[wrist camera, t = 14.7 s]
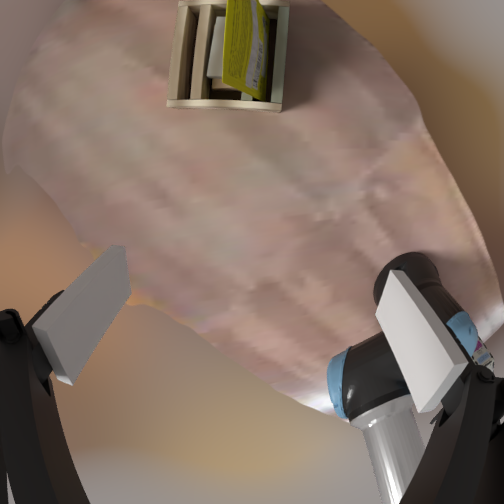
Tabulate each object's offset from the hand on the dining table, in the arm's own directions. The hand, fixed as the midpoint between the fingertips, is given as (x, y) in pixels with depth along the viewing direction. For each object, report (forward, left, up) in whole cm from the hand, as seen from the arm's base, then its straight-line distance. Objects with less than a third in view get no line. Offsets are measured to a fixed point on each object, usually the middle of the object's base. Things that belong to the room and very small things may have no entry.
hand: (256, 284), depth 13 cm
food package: (+1, -19, -35) cm, 40 cm away
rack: (+6, -19, -35) cm, 40 cm away
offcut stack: (+7, -19, -35) cm, 40 cm away
